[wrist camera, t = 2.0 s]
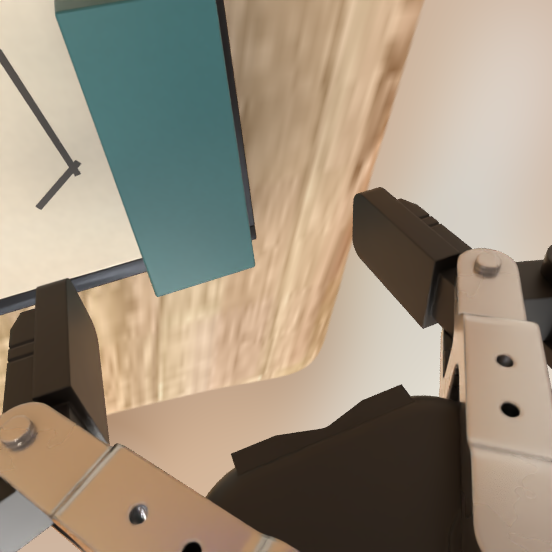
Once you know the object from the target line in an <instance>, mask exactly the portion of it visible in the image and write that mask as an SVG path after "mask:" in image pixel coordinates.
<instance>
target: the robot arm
mask: <svg viewBox="0 0 552 552" xmlns="http://www.w3.org/2000/svg"><path fill="white" fill-rule="evenodd" d="M353 245H354V248H355V250H356V253H357V255H358V256H359V257H360V259H361V260H362V261H363V262H364V263H365V264H366V265H367V267H368V268H369V269H370V270H371V271H372V272H373V273H374V274H375V276H376V277H377V278H378V279H379V280H380V281H381V282H382V283H383V285H384V286H385V287H386V288H387V289H388V290H389V291H390V292H391V293H392V295H393V296H394V297H395V298H396V299H397V300H398V301H399V302H400V304H402V306H403V307H404V308H405V309H406V310H407V311H408V312H409V314H410V315H411V316H412V317H413V318H414V319H415V320H416V322H417V323H418V324H419V325H420V326H421V327H422V328H423V329H424V328H426V327H429V326H431V325H434V324H436V323H439V324H440V325H441V326H442V332H441V352H440V391H439V397H435V396H410V395H409V394H408V392H407V391H406V390H405V388H404V387H403V386H402V385H399V386H396V387H394V388H391V389H389V390H387V391H384V392H382V393H379V394H377V395H374V396H372V397H369V398H367V399H364V400H362V401H361V402H360V403H358V404H357V405H356V406H354V407H353V408H352V409H350V410H349V411H348V412H346V413H345V414H344V415H342V416H341V417H340V418H338V419H337V420H336V421H335V422H333V423H332V424H331V425H329V426H328V427H326V428H322V429H317V430H310V431H303V432H296V433H290V434H283V435H277V436H274V437H271V438H269V439H266V440H264V441H262V442H259V443H256V444H254V445H251V446H249V447H247V448H244V449H242V450H239V451H237V452H235V453H232V454H231V455H232V459H233V462H234V465H235V468H234V469H232V470H231V471H230V472H228V473H227V474H226V475H225V476H224V477H223V478H222V479H221V480H219V482H217V483H216V485H215V486H214V487H213V488H212V489H211V491H210V492H209V493H208V495H207V496H206V498H205V497H204V496H202V495H200V494H199V493H197V492H196V491H194V490H193V489H191V488H190V487H188V486H186V485H185V484H183V483H182V482H180V481H179V480H177V479H175V478H174V477H172V476H171V475H169V474H167V473H166V472H165V471H163V470H162V469H160V468H158V467H157V466H155V465H154V464H152V463H151V462H149V461H147V460H146V459H144V458H143V457H141V456H140V455H138V454H137V453H135V452H134V451H132V450H130V449H129V448H127V447H125V446H123V445H121V444H115V445H114V446H113V447H112V446H110V445H109V435H108V426H107V418H106V408H105V398H104V389H103V380H102V371H101V362H100V353H99V344H98V338H97V334H96V331H95V328H94V325H93V323H92V320H91V318H90V316H89V314H88V312H87V310H86V308H85V307H84V305H83V303H82V301H81V299H80V297H79V295H78V293H77V291H76V289H75V287H74V285H73V283H72V282H71V280H70V279H69V278H65V279H62V280H58V281H55V282H51V283H48V284H45V285H41V286H38V287H37V288H36V301H35V309H31V310H28V311H25V312H22V313H20V315H19V317H18V318H17V320H16V322H15V323H14V325H13V326H12V328H11V330H10V340H9V348H10V349H9V350H8V362H9V363H7V371H6V381H5V392H4V402H3V413H2V415H1V416H0V552H17V551H18V550H20V549H21V548H22V547H24V546H25V545H26V544H28V543H29V542H30V541H31V540H33V539H34V538H35V537H37V536H38V535H40V534H41V533H42V532H44V531H45V530H46V529H48V528H49V527H50V526H52V527H53V528H54V529H55V530H57V531H58V532H59V533H60V534H61V535H63V536H64V537H65V538H66V539H67V540H68V541H70V542H71V543H72V544H73V545H74V546H75V547H77V548H78V549H79V550H80V551H81V552H552V389H551V383H550V378H549V374H548V368H547V365H548V366H550V368H551V369H552V245H551V246H550V247H549V248H548V250H547V253H546V255H545V258H544V260H536V261H524V262H515V261H514V260H513V259H512V258H510V257H509V256H508V255H506V254H504V253H502V252H499V251H496V250H492V249H486V248H477V249H472V248H471V247H469V246H468V245H467V244H465V243H464V242H463V241H462V240H461V239H459V238H458V237H457V236H456V235H454V234H453V233H452V232H450V231H449V230H448V229H447V228H446V227H444V226H443V225H442V224H439V222H438V221H437V220H436V219H434V218H433V217H432V216H431V217H430V216H429V214H428V213H427V212H426V211H424V210H423V209H422V208H421V207H419V206H418V205H416V204H414V203H411V202H409V201H406V200H403V199H398V200H397V199H396V198H395V197H393V196H392V195H391V194H390V193H389V192H387V191H386V190H385V189H384V188H381V187H379V188H375V189H372V190H368V191H365V192H362V193H358V194H356V195H355V197H354V201H353Z"/></svg>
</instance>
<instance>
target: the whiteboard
mask: <svg viewBox="0 0 552 552" xmlns="http://www.w3.org/2000/svg"><path fill="white" fill-rule="evenodd" d="M216 5H217V12H218V19H219V25H220V32H221V39H222V45H223V52H224V59H225V66H226V72H227V79H228V86H229V92H230V99H231V106H232V113H233V119H234V126H235V133H236V139H237V146H238V153H239V160H240V166H241V173H242V180H243V186H244V193H245V200H246V207H247V213H248V220H249V227H250V233H251V240H254V239H256V231H255V225H254V224H255V223H254V216H253V209H252V202H251V195H250V187H249V180H248V173H247V166H246V159H245V152H244V144H243V137H242V130H241V123H240V116H239V108H238V101H237V94H236V87H235V80H234V72H233V65H232V58H231V51H230V44H229V37H228V29H227V22H226V15H225V8H224V1H223V0H216ZM144 272H147V270H146V267H145V264H144V261H143V258H142V256H141V253H140V250H139V247H138V245H137V242H136V239H135V236H134V233H133V231H132V228H131V225H130V222H129V220H128V217H127V214H126V211H125V208H124V206H123V203H122V200H121V197H120V195H119V192H118V189H117V186H116V183H115V181H114V178H113V175H112V172H111V170H110V167H109V164H108V161H107V158H106V156H105V153H104V150H103V147H102V145H101V142H100V139H99V136H98V133H97V131H96V128H95V125H94V122H93V120H92V117H91V114H90V111H89V108H88V106H87V103H86V100H85V97H84V95H83V92H82V89H81V86H80V83H79V81H78V78H77V75H76V72H75V70H74V67H73V64H72V61H71V58H70V56H69V53H68V50H67V47H66V45H65V42H64V39H63V36H62V33H61V31H60V28H59V25H58V22H57V20H56V17H55V7H54V0H0V315H3V314H6V313H10V312H13V311H16V310H20V309H23V308H27V307H30V306H33V305H35V301H36V288H37V287H38V286H41V285H45V284H48V283H51V282H55V281H58V280H62V279H65V278H69V279H70V280H71V282H72V283H73V285H74V287H75V289H76V291H77V292H80V291H83V290H87V289H90V288H93V287H97V286H100V285H103V284H107V283H110V282H114V281H117V280H120V279H124V278H127V277H130V276H134V275H137V274H140V273H144Z"/></svg>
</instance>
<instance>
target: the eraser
mask: <svg viewBox="0 0 552 552" xmlns="http://www.w3.org/2000/svg"><path fill="white" fill-rule="evenodd" d="M54 7H55V17H56V20H57V22H58V25H59V28H60V31H61V33H62V36H63V39H64V42H65V45H66V47H67V50H68V53H69V56H70V58H71V61H72V64H73V67H74V70H75V72H76V75H77V78H78V81H79V83H80V86H81V89H82V92H83V95H84V97H85V100H86V103H87V106H88V108H89V111H90V114H91V117H92V120H93V122H94V125H95V128H96V131H97V133H98V136H99V139H100V142H101V145H102V147H103V150H104V153H105V156H106V158H107V161H108V164H109V167H110V170H111V172H112V175H113V178H114V181H115V183H116V186H117V189H118V192H119V195H120V197H121V200H122V203H123V206H124V208H125V211H126V214H127V217H128V220H129V222H130V225H131V228H132V231H133V233H134V236H135V239H136V242H137V245H138V247H139V250H140V253H141V256H142V258H143V261H144V264H145V267H146V270H147V272H148V275H149V278H150V281H151V284H152V286H153V289H154V292H155V295H156V296H157V297H160V296H163V295H166V294H169V293H172V292H176V291H179V290H182V289H185V288H188V287H192V286H195V285H198V284H201V283H204V282H208V281H211V280H214V279H217V278H220V277H223V276H227V275H230V274H233V273H236V272H239V271H243V270H246V269H249V268H252V267H254V266H255V260H254V254H253V247H252V240H251V233H250V227H249V220H248V213H247V207H246V200H245V193H244V186H243V180H242V173H241V166H240V160H239V153H238V146H237V139H236V133H235V126H234V119H233V113H232V106H231V99H230V92H229V86H228V79H227V72H226V66H225V59H224V52H223V45H222V39H221V32H220V25H219V19H218V12H217V5H216V0H54Z"/></svg>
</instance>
